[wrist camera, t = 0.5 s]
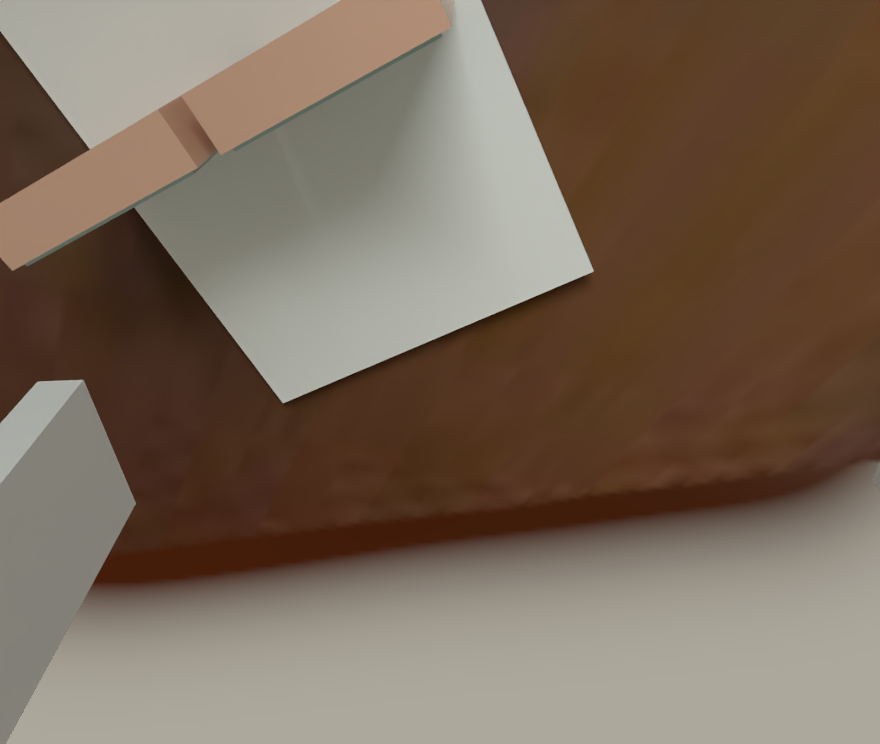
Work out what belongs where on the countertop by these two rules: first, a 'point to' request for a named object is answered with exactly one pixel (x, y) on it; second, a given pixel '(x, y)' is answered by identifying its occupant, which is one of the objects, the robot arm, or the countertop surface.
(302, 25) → the tile
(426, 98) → the stone board
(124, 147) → the tile
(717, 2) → the countertop surface
